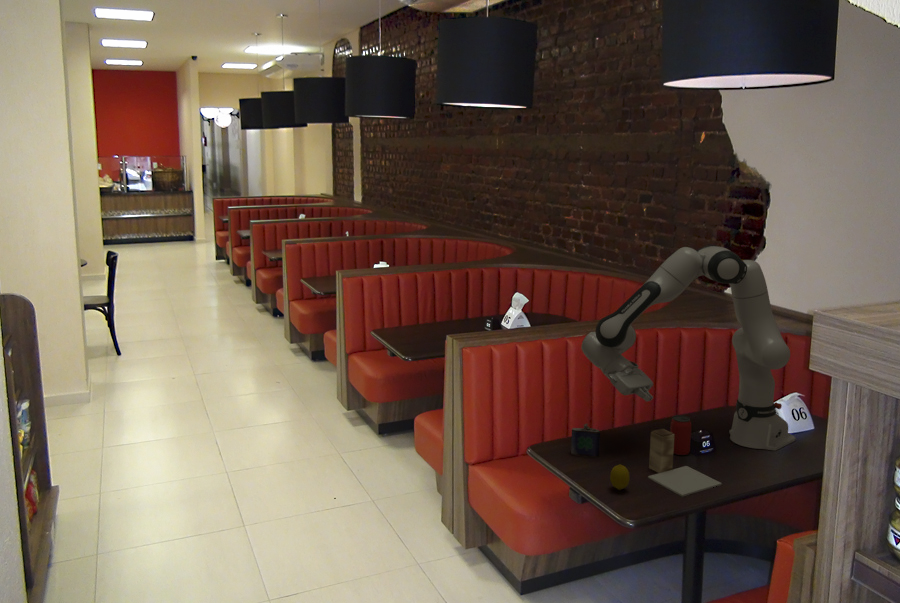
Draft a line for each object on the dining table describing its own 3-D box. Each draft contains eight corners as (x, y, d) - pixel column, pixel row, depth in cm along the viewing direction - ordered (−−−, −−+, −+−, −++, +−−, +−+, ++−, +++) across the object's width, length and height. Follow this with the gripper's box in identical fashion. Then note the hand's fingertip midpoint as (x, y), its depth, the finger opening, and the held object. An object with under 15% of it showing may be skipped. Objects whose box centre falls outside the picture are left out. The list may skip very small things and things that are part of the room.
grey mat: (686, 467, 225) (686, 465, 225) (721, 485, 213) (721, 483, 212) (648, 478, 218) (648, 476, 217) (682, 496, 205) (682, 494, 205)
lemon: (615, 495, 207) (616, 469, 205) (606, 487, 212) (607, 462, 210) (632, 492, 208) (633, 467, 206) (622, 484, 213) (624, 459, 212)
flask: (570, 455, 235) (571, 424, 233) (571, 452, 237) (572, 421, 235) (599, 458, 232) (600, 427, 230) (599, 454, 235) (600, 423, 233)
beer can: (690, 456, 233) (693, 422, 230) (670, 455, 234) (672, 420, 232) (688, 449, 239) (690, 415, 237) (668, 447, 240) (670, 413, 238)
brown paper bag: (660, 464, 227) (662, 428, 225) (672, 470, 223) (674, 433, 220) (648, 467, 225) (650, 430, 222) (660, 473, 220) (662, 436, 218)
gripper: (611, 365, 228) (643, 395, 221) (637, 362, 244) (667, 390, 237) (599, 379, 230) (630, 409, 224) (626, 376, 246) (656, 404, 240)
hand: (650, 399), depth 231 cm, fingers closed
